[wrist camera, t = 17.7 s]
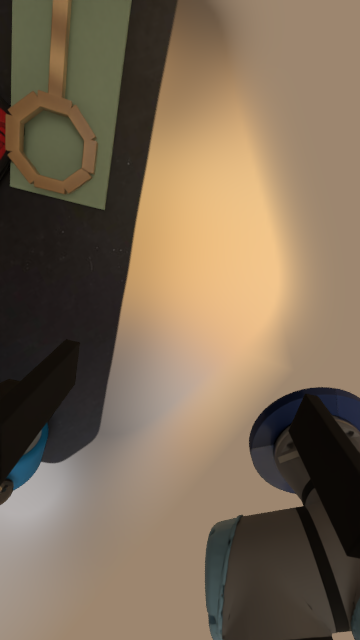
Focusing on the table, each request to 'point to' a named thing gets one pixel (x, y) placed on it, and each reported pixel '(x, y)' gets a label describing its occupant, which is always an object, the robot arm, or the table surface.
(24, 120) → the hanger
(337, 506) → the robot arm
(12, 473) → the alarm clock
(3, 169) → the binder
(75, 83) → the mat
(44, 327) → the table surface
